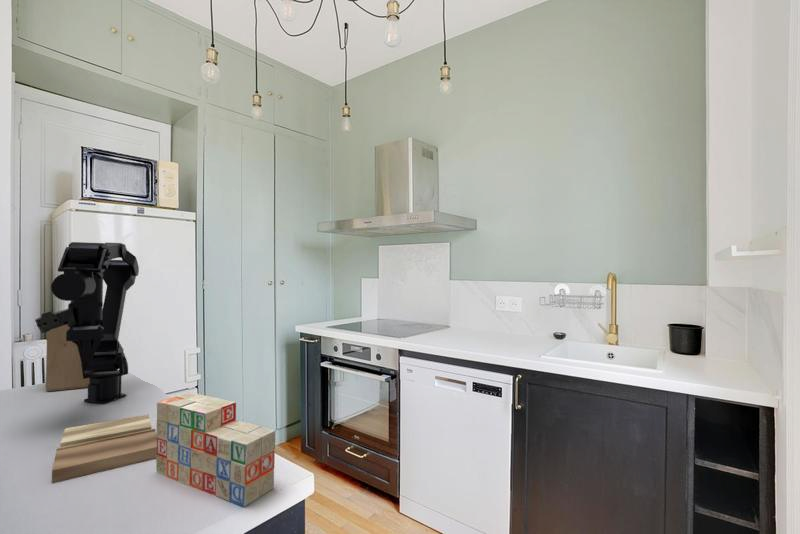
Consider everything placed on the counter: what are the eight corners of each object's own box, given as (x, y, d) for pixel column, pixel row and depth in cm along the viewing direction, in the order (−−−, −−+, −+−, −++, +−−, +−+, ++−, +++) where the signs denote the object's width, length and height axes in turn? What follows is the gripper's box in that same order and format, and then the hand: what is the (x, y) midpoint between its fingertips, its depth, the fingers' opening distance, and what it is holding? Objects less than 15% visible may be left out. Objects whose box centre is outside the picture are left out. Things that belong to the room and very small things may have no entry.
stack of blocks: (275, 488, 63) (276, 411, 63) (243, 509, 57) (245, 424, 57) (188, 457, 73) (190, 390, 73) (154, 472, 67) (156, 400, 67)
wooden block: (44, 392, 107) (46, 319, 107) (55, 383, 116) (56, 315, 116) (90, 388, 112) (92, 317, 112) (97, 379, 121) (98, 314, 121)
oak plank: (65, 428, 78) (60, 443, 72) (148, 414, 86) (151, 426, 80) (64, 443, 78) (60, 459, 72) (148, 428, 86) (150, 441, 80)
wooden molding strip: (56, 459, 71) (57, 446, 71) (154, 438, 80) (154, 427, 80) (51, 482, 63) (52, 468, 63) (160, 457, 72) (160, 444, 72)
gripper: (43, 295, 92) (42, 362, 92) (33, 301, 77) (31, 381, 77) (103, 294, 99) (101, 357, 99) (104, 299, 84) (102, 373, 84)
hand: (85, 366), depth 90 cm, fingers closed
